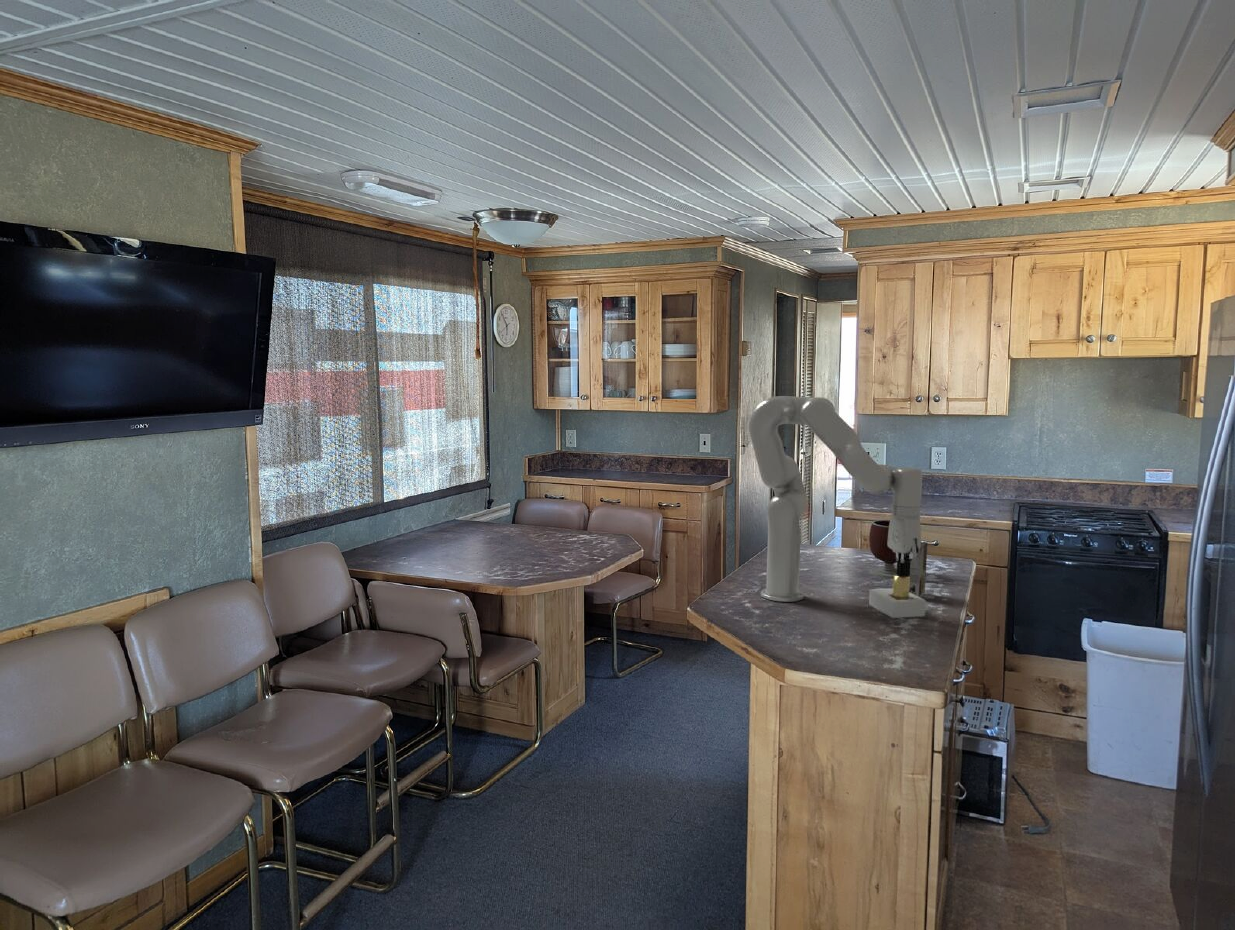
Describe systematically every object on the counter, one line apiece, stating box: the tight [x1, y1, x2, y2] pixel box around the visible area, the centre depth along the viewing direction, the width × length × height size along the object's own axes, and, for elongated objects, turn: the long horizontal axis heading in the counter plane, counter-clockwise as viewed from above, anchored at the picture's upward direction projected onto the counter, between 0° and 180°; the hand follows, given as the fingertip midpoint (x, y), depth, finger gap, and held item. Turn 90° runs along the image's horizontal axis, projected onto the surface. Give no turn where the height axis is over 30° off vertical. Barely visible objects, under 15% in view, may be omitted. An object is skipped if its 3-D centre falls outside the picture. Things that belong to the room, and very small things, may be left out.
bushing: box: [892, 574, 910, 600], centre depth 235 cm, size 4×4×9 cm
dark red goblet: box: [868, 519, 897, 579], centre depth 278 cm, size 16×14×20 cm
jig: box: [868, 587, 927, 619], centre depth 237 cm, size 13×10×4 cm
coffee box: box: [909, 541, 928, 598], centre depth 252 cm, size 9×6×16 cm
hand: (903, 575), depth 234 cm, fingers closed
